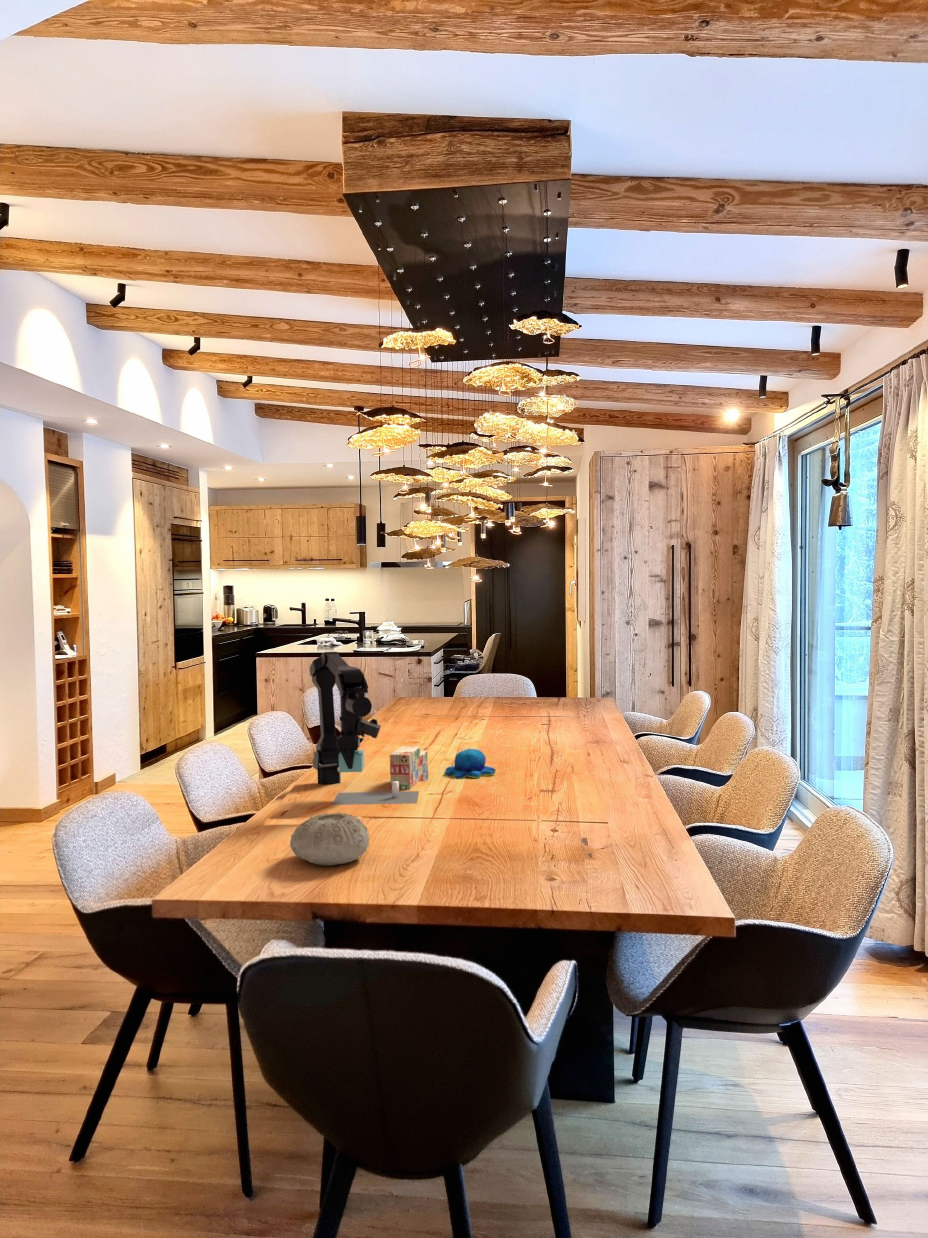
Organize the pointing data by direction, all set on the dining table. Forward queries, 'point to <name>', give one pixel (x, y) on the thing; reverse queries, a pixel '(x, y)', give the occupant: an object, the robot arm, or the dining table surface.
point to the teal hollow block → (357, 763)
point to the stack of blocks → (408, 766)
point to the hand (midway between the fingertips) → (351, 766)
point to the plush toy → (469, 765)
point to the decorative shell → (330, 839)
